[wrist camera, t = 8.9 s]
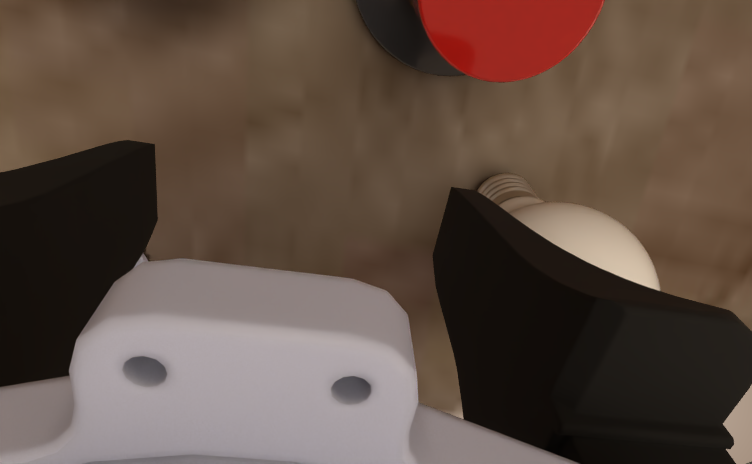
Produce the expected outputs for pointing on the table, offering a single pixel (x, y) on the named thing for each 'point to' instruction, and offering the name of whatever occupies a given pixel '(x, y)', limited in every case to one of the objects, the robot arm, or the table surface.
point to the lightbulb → (575, 229)
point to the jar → (505, 34)
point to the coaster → (403, 35)
